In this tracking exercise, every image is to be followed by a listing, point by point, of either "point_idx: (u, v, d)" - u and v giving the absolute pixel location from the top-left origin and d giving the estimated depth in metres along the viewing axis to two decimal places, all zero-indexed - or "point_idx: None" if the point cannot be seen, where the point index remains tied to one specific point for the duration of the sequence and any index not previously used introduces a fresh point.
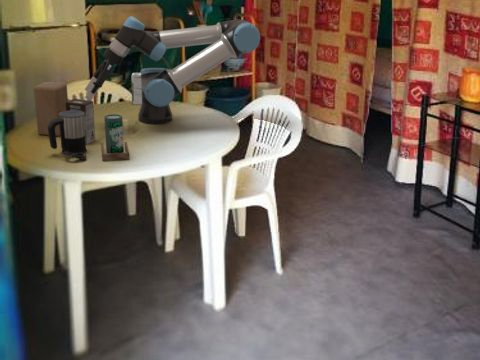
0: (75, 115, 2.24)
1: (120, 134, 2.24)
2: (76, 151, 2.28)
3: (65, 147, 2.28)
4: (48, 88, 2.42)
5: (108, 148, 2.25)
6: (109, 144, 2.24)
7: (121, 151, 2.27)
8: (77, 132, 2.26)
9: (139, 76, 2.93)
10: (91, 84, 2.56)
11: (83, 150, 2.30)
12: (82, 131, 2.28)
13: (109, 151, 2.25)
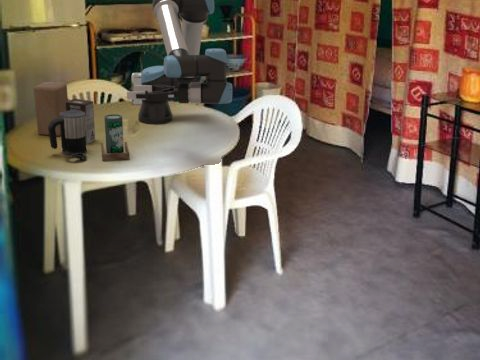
0: (75, 115, 2.24)
1: (120, 134, 2.24)
2: (76, 151, 2.28)
3: (65, 147, 2.27)
4: (48, 88, 2.42)
5: (108, 148, 2.25)
6: (109, 144, 2.24)
7: (121, 151, 2.27)
8: (77, 132, 2.26)
9: (139, 76, 2.93)
10: None
11: (83, 150, 2.30)
12: (82, 131, 2.28)
13: (109, 151, 2.25)
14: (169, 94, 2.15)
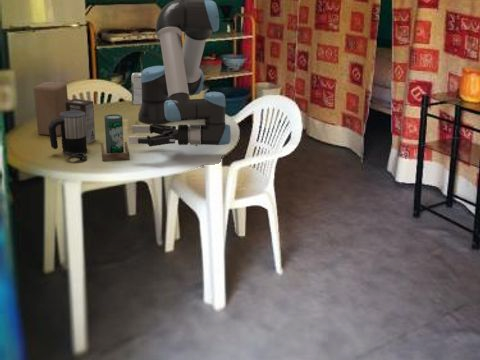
0: (76, 115, 2.24)
1: (120, 134, 2.24)
2: (77, 151, 2.28)
3: (66, 147, 2.27)
4: (48, 88, 2.42)
5: (108, 148, 2.25)
6: (109, 144, 2.24)
7: (121, 151, 2.27)
8: (77, 133, 2.26)
9: (139, 76, 2.93)
10: None
11: (84, 150, 2.30)
12: (83, 131, 2.27)
13: (109, 151, 2.25)
14: (170, 138, 2.20)
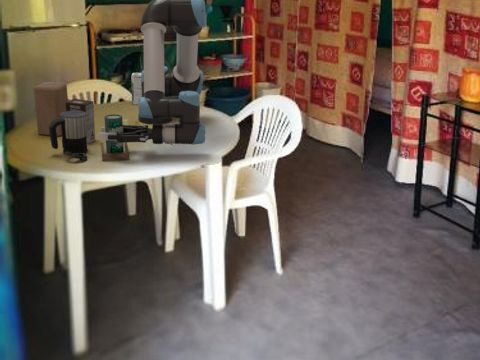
0: (76, 115, 2.24)
1: None
2: (77, 151, 2.28)
3: (66, 147, 2.27)
4: (48, 88, 2.42)
5: (108, 148, 2.25)
6: (109, 144, 2.24)
7: (121, 151, 2.27)
8: (78, 133, 2.26)
9: (139, 76, 2.93)
10: None
11: (84, 150, 2.30)
12: (83, 131, 2.27)
13: (109, 151, 2.25)
14: (140, 137, 2.20)
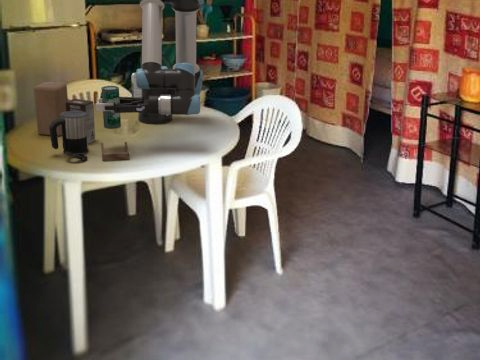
0: (77, 115, 2.24)
1: None
2: (77, 151, 2.28)
3: (66, 147, 2.27)
4: (48, 88, 2.42)
5: (105, 119, 2.30)
6: (106, 114, 2.29)
7: (118, 122, 2.31)
8: (78, 133, 2.25)
9: None
10: None
11: (84, 151, 2.30)
12: (84, 131, 2.27)
13: (106, 122, 2.30)
14: (137, 107, 2.25)
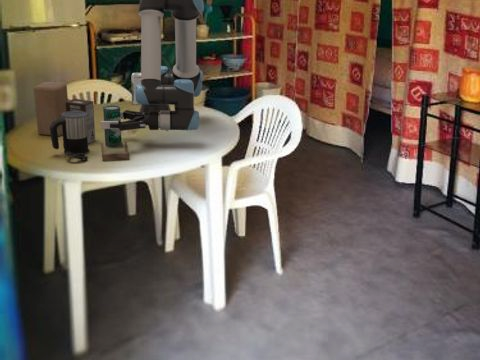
0: (77, 116, 2.24)
1: None
2: (78, 152, 2.27)
3: (67, 147, 2.27)
4: (48, 88, 2.42)
5: (107, 137, 2.37)
6: (108, 133, 2.36)
7: (119, 140, 2.38)
8: (79, 133, 2.25)
9: (139, 76, 2.93)
10: None
11: (85, 151, 2.29)
12: (84, 132, 2.27)
13: (108, 140, 2.37)
14: (141, 123, 2.31)
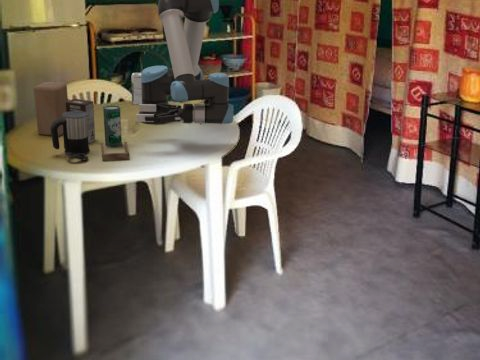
0: (78, 116, 2.24)
1: (118, 124, 2.36)
2: (78, 152, 2.27)
3: (68, 148, 2.27)
4: (48, 88, 2.42)
5: (107, 137, 2.37)
6: (108, 133, 2.36)
7: (119, 140, 2.38)
8: (79, 133, 2.25)
9: (139, 76, 2.93)
10: None
11: (86, 151, 2.29)
12: (85, 132, 2.27)
13: (108, 140, 2.37)
14: (176, 117, 2.30)
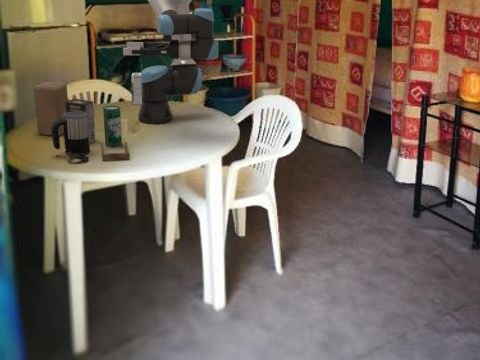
0: (78, 116, 2.24)
1: (118, 124, 2.36)
2: (79, 152, 2.27)
3: (68, 148, 2.27)
4: (48, 88, 2.42)
5: (107, 137, 2.37)
6: (108, 133, 2.36)
7: (119, 140, 2.38)
8: (80, 133, 2.25)
9: (139, 76, 2.93)
10: None
11: (86, 151, 2.29)
12: (85, 132, 2.27)
13: (108, 140, 2.37)
14: (162, 50, 2.36)
